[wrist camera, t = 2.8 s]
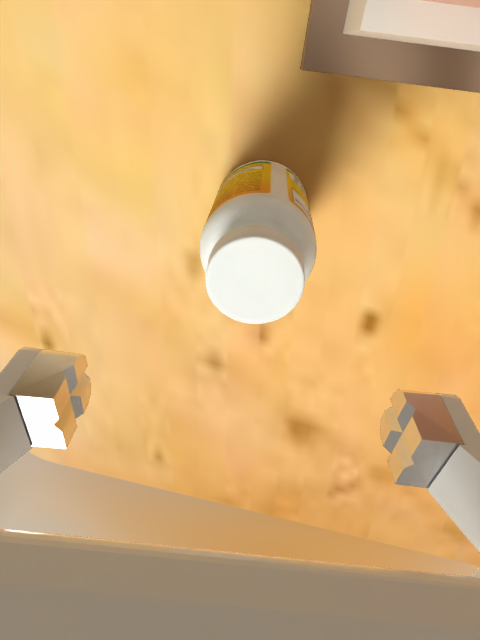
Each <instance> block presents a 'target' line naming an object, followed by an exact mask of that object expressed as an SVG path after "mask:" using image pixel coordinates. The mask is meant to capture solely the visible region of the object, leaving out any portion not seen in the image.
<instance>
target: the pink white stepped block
mask: <svg viewBox="0 0 480 640" xmlns="http://www.w3.org/2000/svg"><path fill="white" fill-rule="evenodd" d="M343 34H348V35H355V36H363V37H371V38H378V39H386V40H394V41H401V42H409V43H417V44H424V45H432V46H440V47H448V48H455V49H463V50H471V51H478V52H480V0H350V1H349V6H348V11H347V16H346V21H345V25H344V30H343Z"/></svg>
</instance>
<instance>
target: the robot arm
mask: <svg viewBox="0 0 480 640" xmlns="http://www.w3.org/2000/svg"><path fill="white" fill-rule="evenodd" d="M87 366H88V365H87V361H86V356H84V355H82V354H76V353H69V352H62V351H54V350H47V349H44V350H43V349H36V348H29V347H24V348H22V349H20V350H18V352H17V353H16V354H15V355H14V357H13V358H12V359H11V360H10V361H9V363H8V364H7V365H6V366H5V368H4V369H3V370H2V371H1V373H0V473H1V472H2V471H4V470H5V469H6V468H8V467H9V466H10V465H11V464H12V463H14V462H15V461H16V460H17V459H19V458H20V457H21V456H23V455H24V454H25V453H26V452H28V451H29V450H30V449H31V448H32V447H31V446H36V447H49V448H62V449H67V446H68V444H69V442H70V440H71V438H72V436H73V434H74V432H75V430H76V428H77V424H76V420H75V419H76V418H77V417H79V416H80V415H82V414H83V413H84V412H85V410H86V407H87V405H88V402H89V398H90V394H91V382H90V378H89V377H88V376H87V375H86V374H85V373H84V371H85V370H86V368H87ZM390 400H391V402H392V405H393V406H392V407H390V408H388V409H387V410H385V411H384V414H383V416H382V418H381V425H380V434H381V440H382V443H383V446H384V447H385V448H386V449H387V450H388V451H389V452H390V453H391V455H390V457H389V459H388V464H389V467H390V470H391V474H392V477H393V480H394V483H395V484H399V485H406V486H414V487H421V488H428V491H429V493H430V494H431V495H432V496H433V497H434V499H435V500H436V501H437V502H438V503H439V505H440V506H441V507H442V508H443V509H444V510H445V512H446V513H447V514H448V515H449V516H450V518H451V519H452V520H453V521H454V522H455V524H456V525H457V526H458V527H459V528H460V530H461V531H462V532H463V533H464V534H465V536H466V537H467V538H468V539H469V540H470V541H471V543H472V544H473V545H474V546H475V547H476V549H477V550H478V551H479V552H480V433H479V432H478V430H477V428H476V426H475V424H474V423H473V421H472V419H471V417H470V415H469V414H468V412H467V410H466V408H465V407H464V405H463V403H462V401H461V399H460V398H459V397H457V396H456V395H450V394H440V393H429V392H419V391H409V390H400V389H398V390H396V391H395V392H394V393H393V395H392V397H391V399H390ZM0 640H480V567H479V568H478V569H477V570H475V571H474V573H473V575H472V576H471V577H469V576H459V575H450V574H440V573H431V572H420V571H411V570H401V569H391V568H382V567H372V566H362V565H352V564H343V563H333V562H323V561H313V560H303V559H293V558H284V557H275V556H265V555H254V554H246V553H236V552H226V551H216V550H206V549H196V548H186V547H177V546H167V545H157V544H148V543H138V542H127V541H118V540H108V539H98V538H88V537H78V536H68V535H58V534H49V533H39V532H29V531H20V530H9V529H0Z"/></svg>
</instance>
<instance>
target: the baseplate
mask: <svg viewBox="0 0 480 640" xmlns="http://www.w3.org/2000/svg"><path fill="white" fill-rule="evenodd" d="M349 1H350V0H311V6H310V12H309V18H308V24H307V30H306V36H305V42H304V48H303V55H302V61H301V67H300V69H302V70H307V71H315V72H323V73H330V74H338V75H346V76H354V77H361V78H369V79H377V80H385V81H392V82H400V83H408V84H416V85H423V86H431V87H439V88H447V89H454V90H462V91H470V92H478V93H480V52H478V51H471V50H463V49H455V48H448V47H440V46H432V45H424V44H417V43H409V42H401V41H394V40H386V39H378V38H371V37H363V36H355V35H348V34H343V30H344V25H345V21H346V16H347V11H348V6H349Z"/></svg>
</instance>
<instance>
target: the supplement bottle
mask: <svg viewBox="0 0 480 640" xmlns="http://www.w3.org/2000/svg"><path fill="white" fill-rule="evenodd" d="M316 249H317V248H316V238H315V232H314V227H313V222H312V218H311V214H310V209H309V204H308V200H307V196H306V193H305V190H304V187H303V185H302V183H301V181H300V180H299V178H298V177H297V176H296V175H295V174H294V173H293V172H292V171H291V170H290V169H289V168H287V167H286V166H284V165H282V164H280V163H277V162H274V161H268V160H257V161H253V162H249V163H246V164H244V165H242V166H240V167H238V168H236V169H235V170H234V171H232V172H231V173H230V174H229V175H228V176H227V177H226V179H225V180H224V182H223V183H222V185H221V187H220V189H219V191H218V194H217V196H216V199H215V201H214V204H213V206H212V209H211V211H210V214H209V216H208V219H207V221H206V223H205V226H204V229H203V232H202V235H201V240H200V257H201V262H202V265H203V268H204V271H205V273H206V275H205V281H206V288H207V292H208V295H209V297H210V299H211V301H212V302H213V303H214V305H215V306H216V307H217V308H218V309H219V310H220V311H221V312H222V313H224V314H225V315H226V316H228V317H230V318H232V319H234V320H237V321H240V322H244V323H250V324H261V323H267V322H272V321H275V320H277V319H279V318H281V317H283V316H285V315H286V314H287V313H289V312H290V311H291V310H292V309H293V308H294V307H295V306H296V304H297V303H298V302H299V300H300V298H301V296H302V293H303V290H304V286H305V281H306V280H307V278H308V277H309V275H310V273H311V271H312V269H313V266H314V263H315V259H316Z"/></svg>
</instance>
